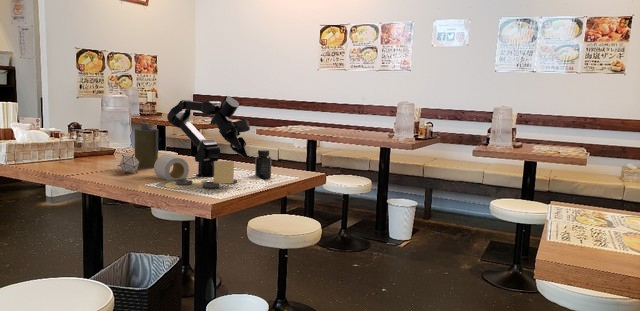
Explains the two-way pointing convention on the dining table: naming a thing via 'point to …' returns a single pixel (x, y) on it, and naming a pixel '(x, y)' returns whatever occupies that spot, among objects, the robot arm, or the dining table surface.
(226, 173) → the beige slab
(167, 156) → the toilet paper
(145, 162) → the canister
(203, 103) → the robot arm
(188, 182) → the tribrach plate
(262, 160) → the supplement bottle
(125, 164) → the game die
